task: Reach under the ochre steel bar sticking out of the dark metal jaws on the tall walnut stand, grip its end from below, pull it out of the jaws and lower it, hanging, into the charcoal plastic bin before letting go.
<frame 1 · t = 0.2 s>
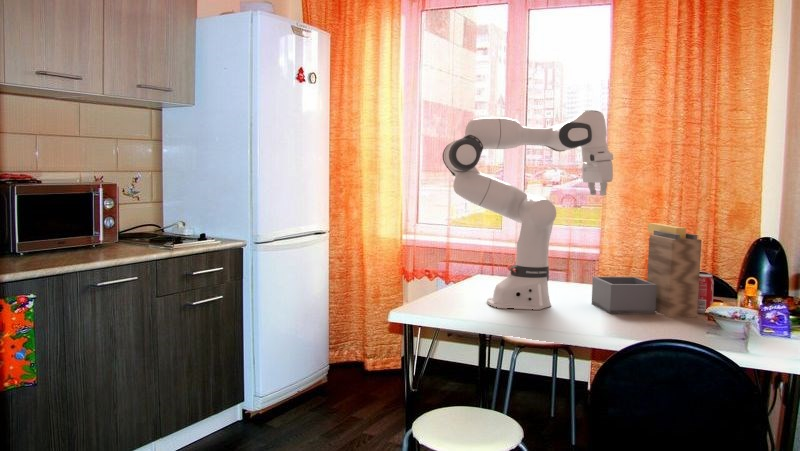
hand: (598, 195, 227), 40 cm above the table, tool pointing down, fingers open, 8 cm apart
stand: (670, 311, 220), on the table
bar: (665, 235, 224), point 26 cm above the table, touching stand
soda can: (700, 312, 221), on the table
bin: (622, 308, 224), on the table
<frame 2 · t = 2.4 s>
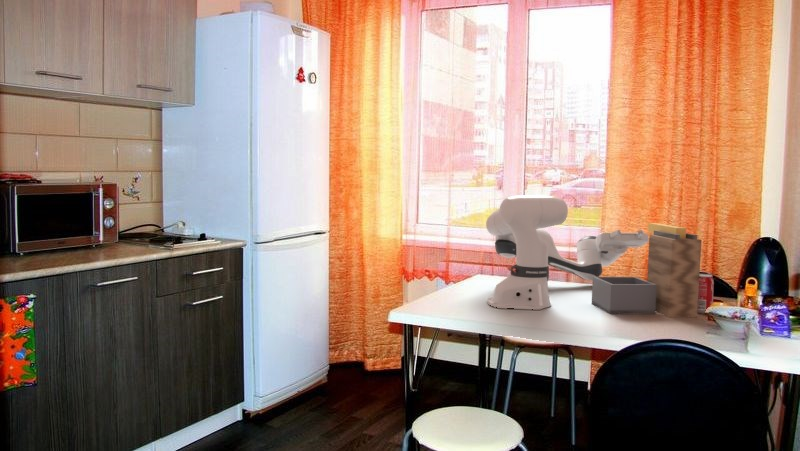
hand: (630, 231, 252), 25 cm above the table, tool pointing upward, fingers open, 8 cm apart
nothing on the table moved.
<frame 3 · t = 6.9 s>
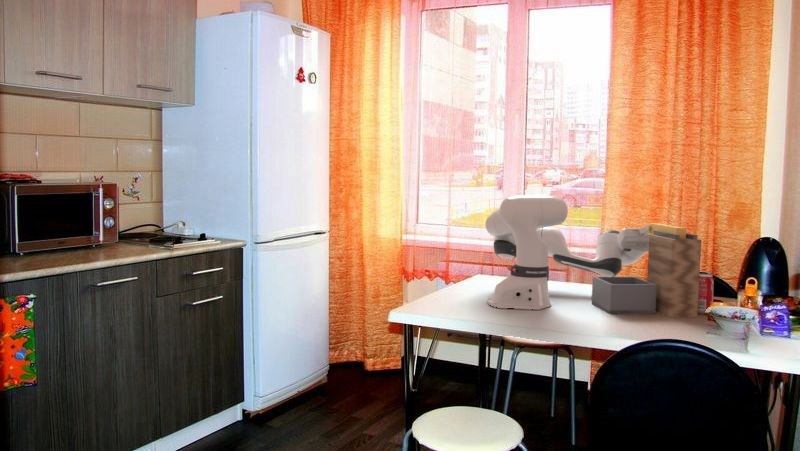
hand: (656, 227, 231), 28 cm above the table, tool pointing upward, fingers closed on bar, 3 cm apart
bar: (665, 235, 224), point 26 cm above the table, touching gripper
everything else where it was.
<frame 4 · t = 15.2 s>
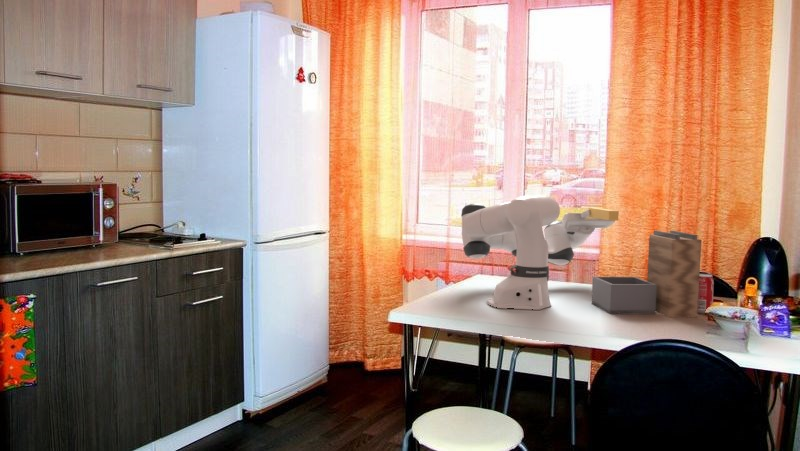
hand: (595, 211, 249), 32 cm above the table, tool pointing upward, fingers closed on bar, 3 cm apart
bar: (602, 218, 242), point 30 cm above the table, touching gripper
everything else where it was.
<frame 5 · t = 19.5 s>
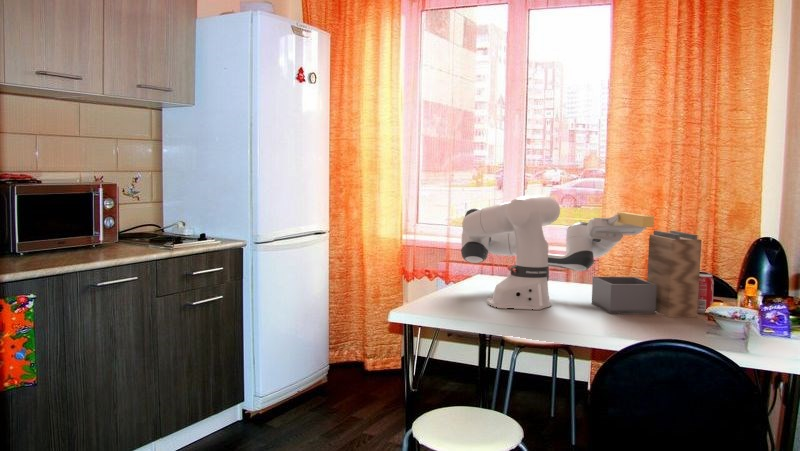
hand: (625, 216, 223), 32 cm above the table, tool pointing upward, fingers closed on bar, 3 cm apart
bar: (634, 224, 216), point 30 cm above the table, touching gripper
everything else where it was.
when the fingers open (21 cm above the table, at t = 23.3 s): bar drops 10 cm and tips over, resting on bin.
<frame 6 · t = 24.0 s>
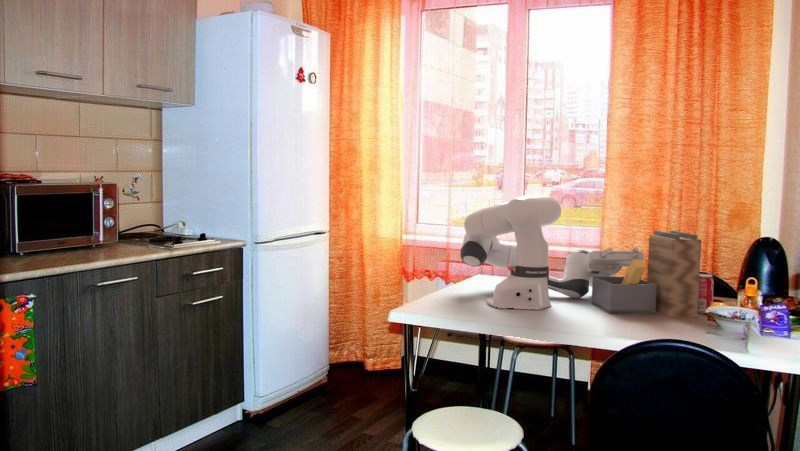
hand: (623, 249, 224), 21 cm above the table, tool pointing upward, fingers open, 8 cm apart
bar: (631, 286, 217), point 9 cm above the table, tilted 51°, touching bin
everything else where it was.
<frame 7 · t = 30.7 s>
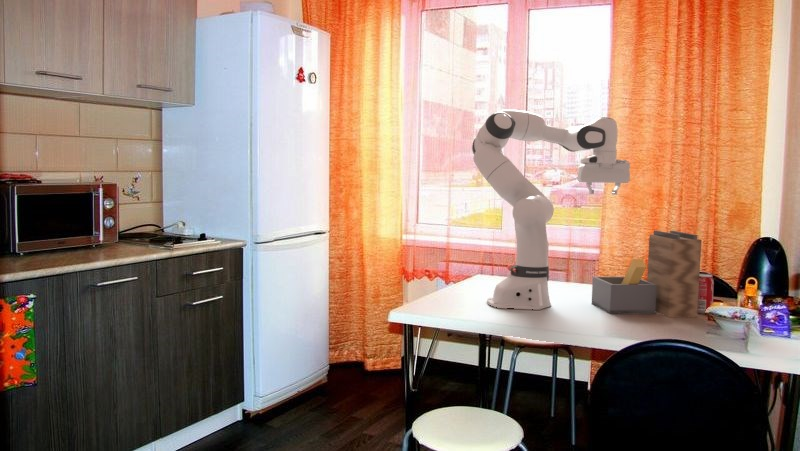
hand: (602, 194, 252), 39 cm above the table, tool pointing down, fingers open, 8 cm apart
nothing on the table moved.
at the end: bar inside the target area on the bin (6.1 cm from its centre), point 8.9 cm above the bin's base; the gripper is holding nothing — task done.
